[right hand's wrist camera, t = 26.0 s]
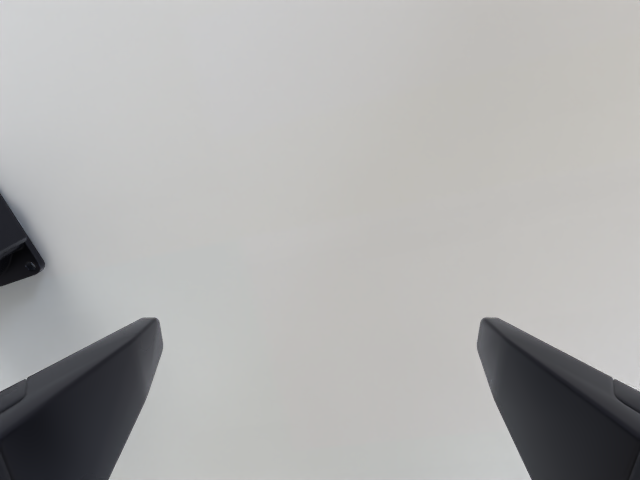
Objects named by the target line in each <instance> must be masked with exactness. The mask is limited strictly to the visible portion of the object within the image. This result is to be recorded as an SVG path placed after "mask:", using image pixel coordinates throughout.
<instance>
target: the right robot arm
mask: <svg viewBox="0 0 640 480" xmlns="http://www.w3.org/2000/svg"><path fill="white" fill-rule="evenodd" d="M31 262H32V263H33V264H34V265H35V267H33V266H32V265H31ZM44 267H45V263H44V261H43V259H42V257H41V256H40V254H39V253H38V251H37V250H36V248H35V247H34V245H33V244H32V242H31V240H30V239H29V237H28V236H27V234H26V233H25V231H24V230H23V228H22V227H21V225H20V223H19V222H18V220H17V219H16V217H15V216H14V214H13V213H12V211H11V209H10V208H9V206H8V205H7V203H6V202H5V200H4V199H3V197H2V196H1V194H0V286H3V285H6V284H9V283H12V282H15V281H18V280H21V279H24V278H27V277H30V276H33V275H36V274H37V273H39V272H40V271H42V270H43V269H44ZM162 350H163V340H162V334H161V328H160V323H159V320H158V319H157V318H141V319H139V320H137V321H135V322H133V323H131V324H129V325H128V326H126V327H124V328H122V329H120V330H118V331H116V332H114V333H112V334H110V335H108V336H106V337H105V338H103V339H101V340H99V341H97V342H95V343H93V344H91V345H89V346H87V347H85V348H83V349H82V350H80V351H78V352H76V353H74V354H72V355H70V356H68V357H66V358H64V359H62V360H61V361H59V362H57V363H55V364H53V365H51V366H49V367H47V368H45V369H43V370H41V371H39V372H38V373H36V374H34V375H32V376H30V377H28V378H27V380H26V379H24V380H22V381H20V382H18V383H16V384H14V385H13V386H11V387H9V388H7V389H5V390H3V391H1V392H0V480H108V479H109V477H110V475H111V473H112V471H113V469H114V467H115V464H116V462H117V460H118V458H119V456H120V454H121V452H122V450H123V447H124V445H125V443H126V441H127V439H128V437H129V435H130V432H131V430H132V428H133V426H134V424H135V422H136V420H137V418H138V415H139V413H140V411H141V409H142V407H143V405H144V402H145V400H146V398H147V395H148V392H149V389H150V386H151V383H152V380H153V377H154V374H155V371H156V368H157V365H158V362H159V359H160V356H161V353H162ZM477 350H478V353H479V356H480V359H481V362H482V365H483V368H484V371H485V374H486V377H487V380H488V383H489V386H490V389H491V392H492V395H493V398H494V400H495V402H496V405H497V407H498V409H499V411H500V413H501V415H502V418H503V420H504V422H505V424H506V426H507V428H508V430H509V432H510V435H511V437H512V439H513V441H514V443H515V445H516V447H517V450H518V452H519V454H520V456H521V458H522V460H523V462H524V464H525V467H526V469H527V471H528V473H529V475H530V477H531V479H532V480H640V392H639V391H637V390H635V389H633V388H631V387H629V386H627V385H626V384H624V383H622V382H620V381H618V380H616V379H614V380H613V378H612V377H610V376H608V375H606V374H604V373H602V372H601V371H599V370H597V369H595V368H593V367H591V366H589V365H587V364H585V363H583V362H581V361H579V360H578V359H576V358H574V357H572V356H570V355H568V354H566V353H564V352H562V351H560V350H558V349H557V348H555V347H553V346H551V345H549V344H547V343H545V342H543V341H541V340H539V339H537V338H535V337H534V336H532V335H530V334H528V333H526V332H524V331H522V330H520V329H518V328H516V327H514V326H512V325H511V324H509V323H507V322H505V321H503V320H501V319H499V318H483V319H482V320H481V323H480V328H479V334H478V340H477Z"/></svg>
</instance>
